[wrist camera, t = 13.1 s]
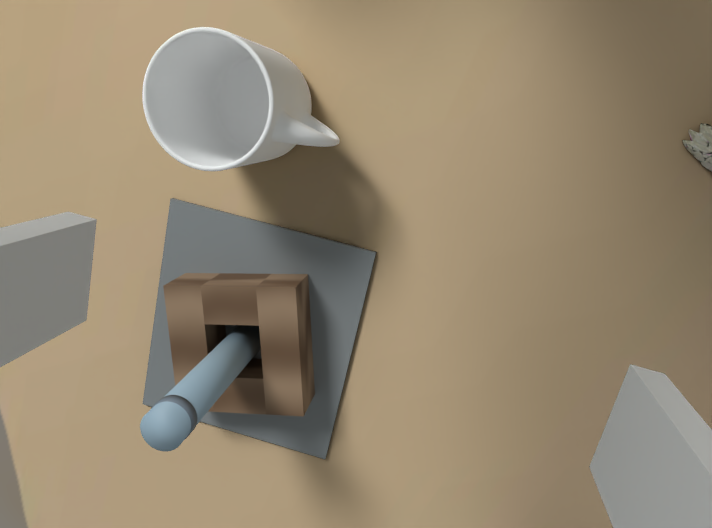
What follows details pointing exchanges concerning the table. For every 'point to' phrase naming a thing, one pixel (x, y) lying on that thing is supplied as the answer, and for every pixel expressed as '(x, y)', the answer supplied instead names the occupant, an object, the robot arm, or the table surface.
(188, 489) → the table surface
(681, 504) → the robot arm
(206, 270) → the mat
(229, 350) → the round-tipped blue rod
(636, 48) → the table surface
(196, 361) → the wooden block with hole
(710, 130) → the figurine
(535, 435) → the table surface
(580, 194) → the table surface
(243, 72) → the mug
